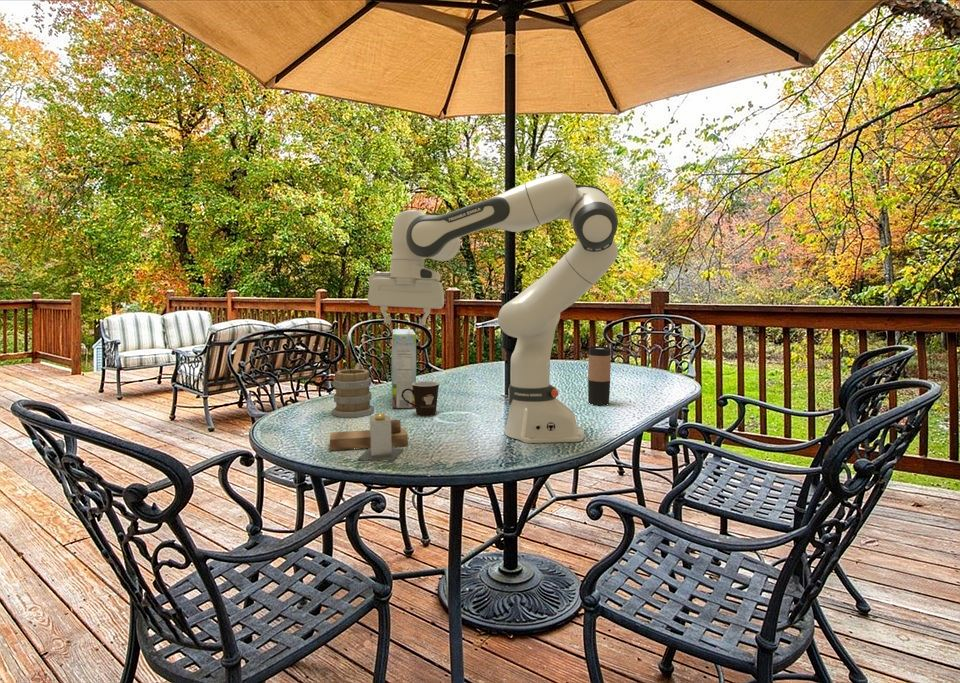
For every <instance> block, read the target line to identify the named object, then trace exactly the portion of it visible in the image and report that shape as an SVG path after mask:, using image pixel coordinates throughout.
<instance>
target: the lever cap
mask: <svg viewBox="0 0 960 683" xmlns="http://www.w3.org/2000/svg"><path fill="white" fill-rule="evenodd" d="M391 420H392V419H391V416H390V415H386V414H385V413H376V414H374V416H369V430H370V451H371V457H382V456H392V448H393V447H392V442H391Z"/></svg>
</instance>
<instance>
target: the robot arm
mask: <svg viewBox="0 0 960 683" xmlns="http://www.w3.org/2000/svg"><path fill="white" fill-rule="evenodd" d="M555 220H566V221H569V223H570V225H571V227H572V229H573V232H574V234H575V236H576V238H577V241H576V242H575V244H574V245H573V246H572V247H571V248H570V249H569V250H568V251H567V252H566V253H565V254H564V255H562V257H561V258H560V259H559V260H558V261H557V262H556V263H555V264H554V265H553V266H552V267H551V268H550V269H549V270H548V271H547V272H545V274H543V275H542V276H541V277H540V278H538V279H537V280H535V281H534V282H533V283H531V284H530V285H529V286H528V287H527V288H525V289H524V290H522V291H520V293H519V294H518V295H517V296H515V297H514V298H512V299H511V300H509V301H508V302H506V303H505V304H504V305H503V306H502V307H501V308H500V309H499V312H498V315H497V321H498V322H497V323H498V325H499V328H500V330H501V331H502V332H503V333H504V334H506V335H507V336H509V337H511V338H516V339H517V340H516V343H515V347H514V350H513V352H512V353H511V356H510V376H509V377H510V384H509V385H508V390H507V391H508V398H507V399H508V400H507V401H508V405H509V408H508V409H509V410H508V415H507V422H506V425H505V428H504V429H505V430H504V435H505V436H507V437H509V438H511V439H515V440H518V441H521V442H523V443H525V444H534V443H535V444H536V443H537V444H539V443H542V444H543V443H577V442H580V441H583V440H584V439H585V431H584V429H583V428H582V427H581V426H578V424H577V420H576V416H575V414H574V411H573V410H572V409H571V408H569V407H568V406H566V405H565V404H564V403H563V402H562V401H560V399H558V396H559V390H558V388H556V386H553V385H552V384H550V383H551V382H550V374H551V373H550V372H551V369H550V368H551V353H552V350H553V349H552V348H553V344H554V339H555V333H556V329H557V327H558V324H559V322H560V318H561V313H562V312H563V311H565V310H566V309H568V308H569V307H570V306H573V305H574V304H575V303H576V302H577V301H578V300H579V299H581V297H583V295H585V294H586V293H587V292H588V291H589V290H590V289H592V287H593V286H594V285H596V284H597V283H598V281H599V280H601V278H602V277H603V276H604V275H605V274H606V273H607V272H608V271H609V269H610V267H611V266H612V265H613V264H614V262H615V261H616V260H617V258H618V255H619V248H618V246H617V244H616V241H615V240H614V238H615V235H616V233H617V231H618V230H617V229H618V225H619V219H618V214H617V211H616V208H615V206H614V203H613V202H612V200H611V199H610V198H609V196H608V194H607V192H605V191H604V190H603V189H602V188H600V187H598V186H594V185H584V184H579V183H578V184H577V183H575V182H574V180H573V179H572V178H571V176H569V175H568V174H566V173H562V172H558V173H553V174H548V175H545V176H541V177H540V176H539V177H538V178H535V179H532V180H528V181H527V182H526V181H525V182H523V183H522V184H520V185H517V186H514V187H512V188H510V189H508V190H506V191H504V192H501V193H500V194H496V195H494V196H492V197H490V198H487V199H485V200H481V201H479V202H476V203H473V204H470V205H467V206H464V207H462V208H458V209H455V210H453V211H450V212H446V213H443V214H438V215H437V214H435V215H434V214H426V213H424V211H422V210H419V209H407V210H403V211H400V212H399V213H397V214H396V215H395V218H394V220H393V224H392V233H391V248H392V254H391V256H390V267H389V268H390V269H389V270H390V271H380V270H379V271H374V272H372V273H370V274H369V277H368V286H369V287H368V292H367V293H368V294H367V304H369V306H375V307H380V312H381V314H382V316H383V323H384V324H387V325H388V324H389V325H390V324H392V316H389V315H388V313H387V311H388V310H389V309H388V308H389V307H393V308H395V307H396V308H413V309H415V308H416V309H418V308H419V309H423V313H424V314H423V315H422V317H421V318H418V325H419V326H426V321H427V320H426V319H427V318H428V317H429V315H431V309H434V310H435V309H437V310H441V309H442V308H444V305H445V294H444V291H445V290H444V286H443V284H442V283H441V282H440V281H441V279H442V276H441V274H440V273H439V272H438V271H436V270H433V269H431V268H429V267H425V260H426V259H430V260H433V261H437V262H447V261H451V260H452V259H454V258H456V256H457V255H458V254H459V252H460V249H461V245H462V244H461V238H462V237H465V236H467V235H470V234H472V233H475V232H479V231H483V230H489V229H491V230H492V229H497V230H503V231H508V232H512V233H513V232H514V233H519V232H523V231H524V232H525V231H528V230H532V229H534V228H537V227H539V226H542V225H545V224H548V223H549V222H551V221H555Z"/></svg>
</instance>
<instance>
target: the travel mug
mask: <svg viewBox="0 0 960 683" xmlns="http://www.w3.org/2000/svg"><path fill="white" fill-rule="evenodd" d="M611 349H612V348H611V347H609V346H603V345H602V346H600V345H599V346H597V345H596V346H589V347H588V370H587V372H588V373H587V375H588V376H587V394H588V395H587V398H588V401H587V402H588V404H589V403H590V404H593V405H592V406H594V405H607V404H609V405H610V393H611V392H610V391H611V366H612V365H611V360H612V359H611V358H612V357H611V356H612V354H611V353H612V351H611ZM590 404H589V405H590ZM607 406H608V405H607Z"/></svg>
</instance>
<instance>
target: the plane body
mask: <svg viewBox="0 0 960 683" xmlns="http://www.w3.org/2000/svg"><path fill="white" fill-rule="evenodd" d="M401 422H402V421H401V420H400V419H391V442H392V446H396V447H406V445H409V442H408V438H409V437H408V432H407V430H406V427H402V426H401ZM329 435H330V436H329V451H330V450H339V451H343V450H342V449H353V450H357V449H356V448H368V449H369V448H370V429H367V430H349V431H347V430H346V431H334V432H330V434H329ZM354 448H355V449H354Z"/></svg>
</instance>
